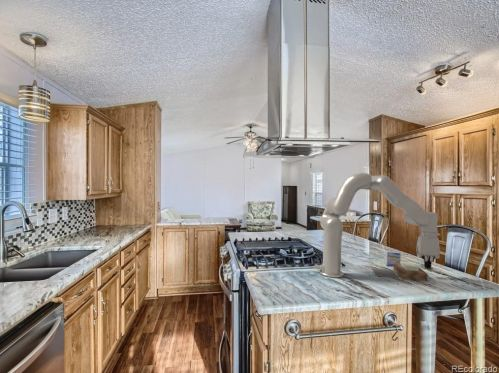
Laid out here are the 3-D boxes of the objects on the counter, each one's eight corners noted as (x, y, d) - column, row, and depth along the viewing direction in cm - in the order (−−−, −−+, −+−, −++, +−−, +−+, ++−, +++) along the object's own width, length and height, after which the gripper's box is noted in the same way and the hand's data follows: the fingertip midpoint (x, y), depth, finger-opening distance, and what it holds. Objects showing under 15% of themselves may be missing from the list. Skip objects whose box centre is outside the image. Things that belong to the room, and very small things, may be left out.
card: (406, 270, 147) (406, 265, 147) (401, 265, 156) (401, 261, 156) (418, 271, 146) (418, 266, 146) (412, 266, 155) (412, 262, 155)
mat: (377, 276, 149) (377, 275, 149) (371, 268, 162) (371, 268, 162) (399, 278, 146) (399, 277, 146) (392, 270, 160) (392, 269, 160)
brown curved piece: (401, 279, 145) (402, 271, 145) (393, 270, 160) (393, 263, 160) (427, 281, 142) (427, 273, 142) (416, 272, 158) (416, 265, 158)
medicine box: (386, 266, 168) (386, 252, 168) (384, 264, 173) (385, 250, 173) (400, 267, 167) (400, 253, 166) (398, 265, 171) (398, 251, 171)
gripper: (441, 234, 151) (440, 267, 151) (411, 232, 154) (410, 265, 154) (447, 236, 144) (446, 271, 144) (415, 234, 147) (414, 268, 147)
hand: (427, 268), depth 149 cm, fingers closed
